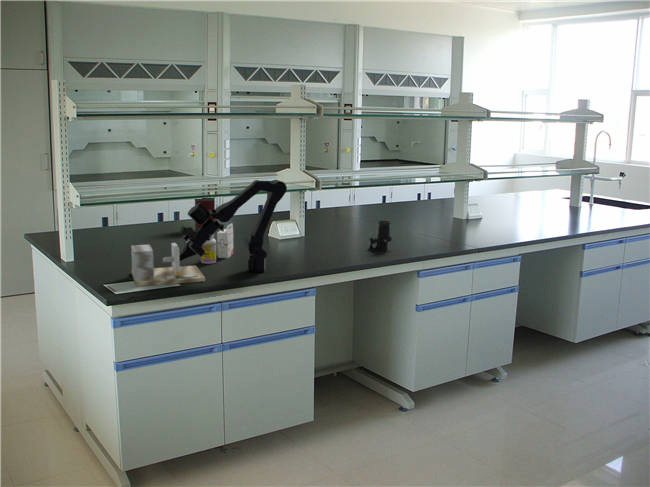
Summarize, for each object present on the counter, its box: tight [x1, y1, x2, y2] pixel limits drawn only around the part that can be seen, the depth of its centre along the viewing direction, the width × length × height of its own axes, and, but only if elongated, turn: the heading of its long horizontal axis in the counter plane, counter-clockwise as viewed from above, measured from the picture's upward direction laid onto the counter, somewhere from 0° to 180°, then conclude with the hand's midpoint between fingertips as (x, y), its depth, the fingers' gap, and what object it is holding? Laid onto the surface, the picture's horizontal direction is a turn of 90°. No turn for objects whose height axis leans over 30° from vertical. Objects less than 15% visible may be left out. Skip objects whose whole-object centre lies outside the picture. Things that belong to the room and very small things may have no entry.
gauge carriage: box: [162, 242, 181, 276], centre depth 254 cm, size 6×13×11 cm, turn 22°
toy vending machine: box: [194, 197, 216, 230], centre depth 342 cm, size 9×11×28 cm
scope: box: [368, 220, 393, 252], centre depth 313 cm, size 8×14×10 cm
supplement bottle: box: [200, 233, 217, 265], centre depth 280 cm, size 7×7×13 cm
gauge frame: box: [130, 244, 206, 287], centre depth 256 cm, size 26×19×12 cm
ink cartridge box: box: [216, 222, 234, 259], centre depth 291 cm, size 9×5×15 cm, turn 170°
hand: (178, 260), depth 257 cm, fingers closed, pressing on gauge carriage
